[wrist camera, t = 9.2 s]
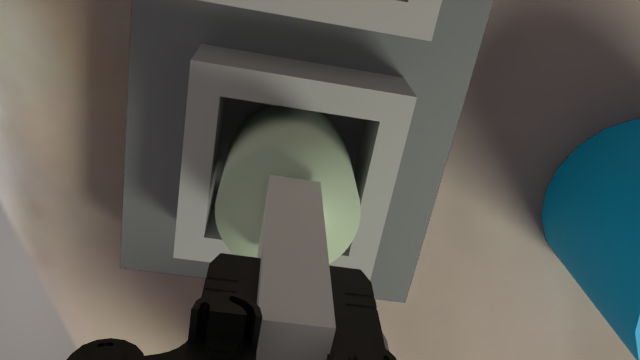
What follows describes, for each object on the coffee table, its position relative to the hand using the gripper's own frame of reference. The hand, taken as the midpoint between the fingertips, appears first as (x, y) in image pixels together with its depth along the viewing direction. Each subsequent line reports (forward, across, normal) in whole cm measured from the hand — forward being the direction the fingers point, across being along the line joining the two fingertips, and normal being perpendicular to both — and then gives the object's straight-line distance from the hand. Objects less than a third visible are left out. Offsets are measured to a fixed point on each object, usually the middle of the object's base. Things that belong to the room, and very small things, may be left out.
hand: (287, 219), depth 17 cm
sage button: (+4, 0, 0) cm, 4 cm away
